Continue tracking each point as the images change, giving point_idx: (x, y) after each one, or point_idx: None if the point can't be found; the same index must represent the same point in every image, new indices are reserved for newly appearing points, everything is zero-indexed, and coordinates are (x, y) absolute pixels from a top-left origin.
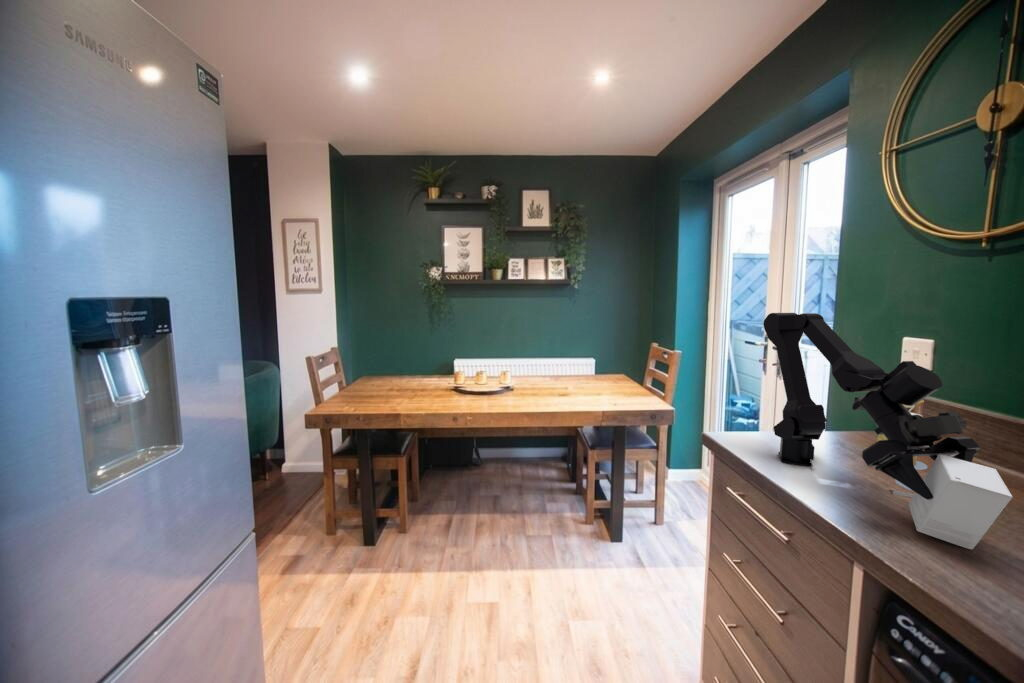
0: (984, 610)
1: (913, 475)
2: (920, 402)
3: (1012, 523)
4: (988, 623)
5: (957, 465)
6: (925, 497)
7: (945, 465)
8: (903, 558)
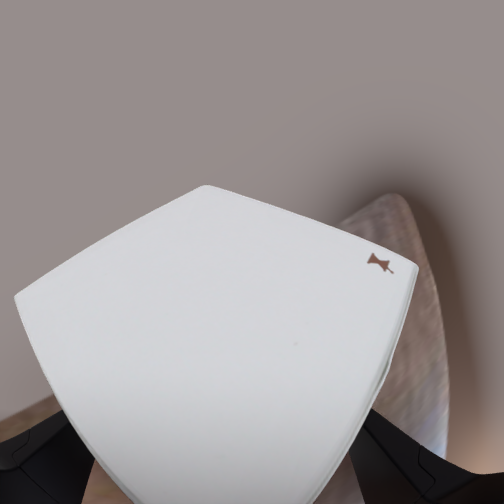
0: (384, 225)
1: (430, 453)
2: None
3: (27, 411)
4: (397, 210)
5: (245, 380)
6: None
7: (368, 392)
8: (411, 342)
